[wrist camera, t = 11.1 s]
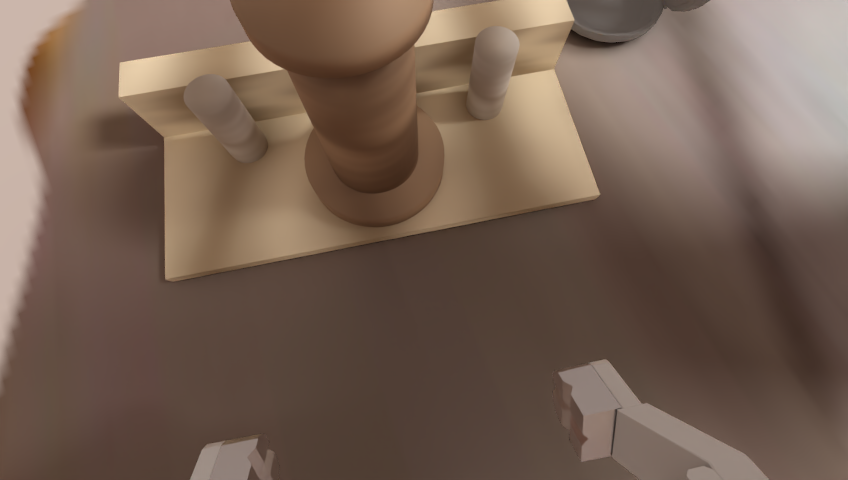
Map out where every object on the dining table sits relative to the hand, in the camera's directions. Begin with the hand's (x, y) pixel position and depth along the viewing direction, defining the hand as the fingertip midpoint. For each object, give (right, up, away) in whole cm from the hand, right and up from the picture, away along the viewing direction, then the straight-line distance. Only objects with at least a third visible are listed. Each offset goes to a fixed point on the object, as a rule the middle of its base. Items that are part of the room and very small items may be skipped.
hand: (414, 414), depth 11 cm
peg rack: (-2, +10, +11) cm, 15 cm away
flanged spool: (-2, +9, +10) cm, 14 cm away
